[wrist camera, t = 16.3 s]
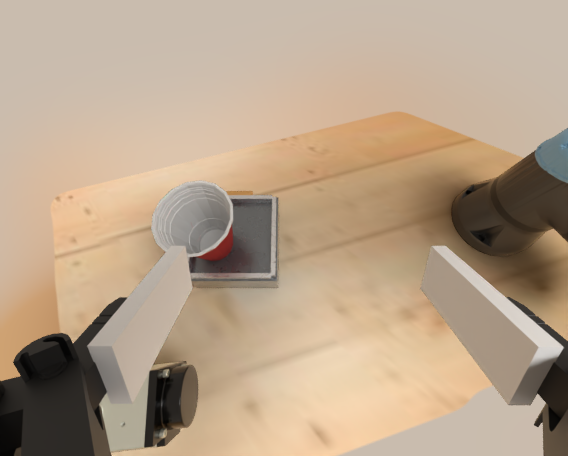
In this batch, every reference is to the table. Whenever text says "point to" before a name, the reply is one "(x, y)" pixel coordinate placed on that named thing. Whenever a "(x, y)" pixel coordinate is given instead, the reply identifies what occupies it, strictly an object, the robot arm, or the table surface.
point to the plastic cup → (195, 220)
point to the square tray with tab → (245, 247)
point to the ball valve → (153, 409)
